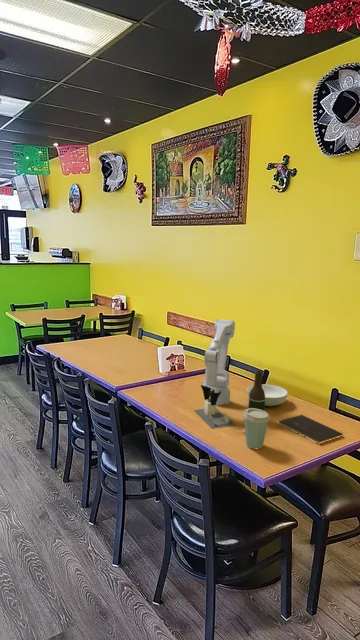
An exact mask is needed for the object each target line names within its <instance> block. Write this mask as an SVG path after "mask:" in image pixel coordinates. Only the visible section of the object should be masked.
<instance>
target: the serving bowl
mask: <svg viewBox="0 0 360 640" xmlns="http://www.w3.org/2000/svg"><path fill="white" fill-rule="evenodd" d="M253 386H254V384H253V385H250V386H248V387H247V388H246V393H247V396H248V398H249V394H250V391H251V389H252V388H253ZM262 389H263V390H264V393H265V407H275V406H278V405H281V404H283V403H284V402H285V401H286V399H287V397H288V394H289V392H288V390H286V389H285V388H283V387H281V386H278V385H274V384H267V383H266V384H263V383H262Z"/></svg>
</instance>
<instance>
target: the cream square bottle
mask: <svg viewBox="0 0 360 640" xmlns="http://www.w3.org/2000/svg"><path fill="white" fill-rule="evenodd" d="M203 403H204V404H203V405H204V406H203V409H204V413H205V414H206V415H207V416H208V415H215V408H216V405H211V400H210V398H209V399H208V400H204V402H203Z"/></svg>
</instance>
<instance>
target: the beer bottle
mask: <svg viewBox="0 0 360 640" xmlns="http://www.w3.org/2000/svg"><path fill="white" fill-rule="evenodd" d="M263 373H264V372H263V371H262V370H255V372H254V375H255V376H254V382H253V385H254V386H253V388H252V389H251V391H250V394H249V397H248V407H247V409H249V408H255V409H260V410H263V411H265V407H266V406H265V393H264V390H263V389H262V384H263Z"/></svg>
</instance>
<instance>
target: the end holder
mask: <svg viewBox="0 0 360 640" xmlns="http://www.w3.org/2000/svg"><path fill="white" fill-rule="evenodd" d="M208 420H209V421H210V422H211V423H212V424H213V425H214V426H218V425H225V424H229V420H230V418H229V417H228V416H226V415H225V414H224V413H222V412H221V418H213V417H212V416H211V415H208ZM230 421H231V420H230Z"/></svg>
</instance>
